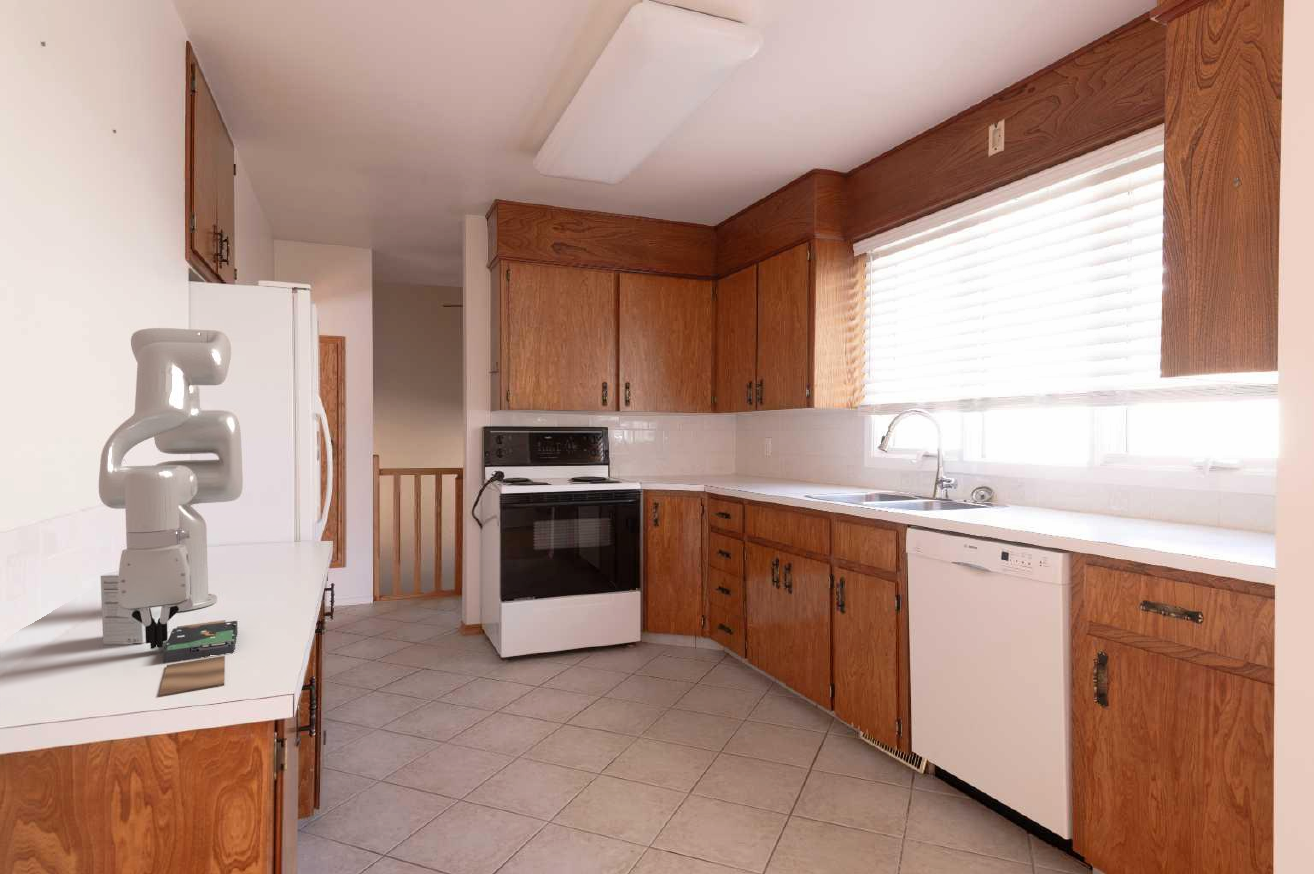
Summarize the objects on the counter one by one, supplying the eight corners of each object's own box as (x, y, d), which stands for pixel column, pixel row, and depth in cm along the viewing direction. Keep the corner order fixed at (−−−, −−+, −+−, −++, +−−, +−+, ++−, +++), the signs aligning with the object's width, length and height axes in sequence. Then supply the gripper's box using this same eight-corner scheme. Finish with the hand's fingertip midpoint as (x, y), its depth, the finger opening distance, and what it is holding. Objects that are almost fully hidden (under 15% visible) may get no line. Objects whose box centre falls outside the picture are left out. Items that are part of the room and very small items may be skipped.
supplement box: (132, 632, 134) (130, 566, 134) (170, 632, 134) (168, 566, 134) (101, 645, 127) (98, 575, 126) (141, 644, 127) (139, 574, 126)
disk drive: (172, 643, 129) (162, 666, 116) (171, 628, 129) (162, 649, 116) (238, 634, 134) (236, 655, 121) (237, 619, 134) (235, 639, 121)
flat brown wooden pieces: (177, 628, 137) (176, 626, 137) (225, 621, 141) (225, 619, 141) (159, 696, 102) (159, 694, 102) (224, 685, 106) (224, 683, 106)
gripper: (205, 533, 129) (208, 633, 129) (102, 541, 121) (105, 648, 121) (204, 538, 122) (207, 644, 123) (95, 548, 114) (98, 660, 115)
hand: (157, 645), depth 122 cm, fingers closed
